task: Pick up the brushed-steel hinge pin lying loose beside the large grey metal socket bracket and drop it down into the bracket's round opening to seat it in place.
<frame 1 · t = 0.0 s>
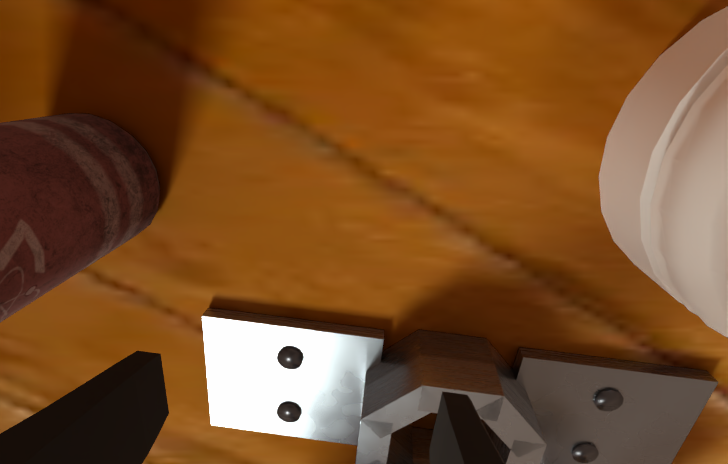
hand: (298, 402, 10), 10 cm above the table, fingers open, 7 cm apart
grey metal socket bracket: (438, 394, 23), on the table
can: (107, 173, 19), on the table
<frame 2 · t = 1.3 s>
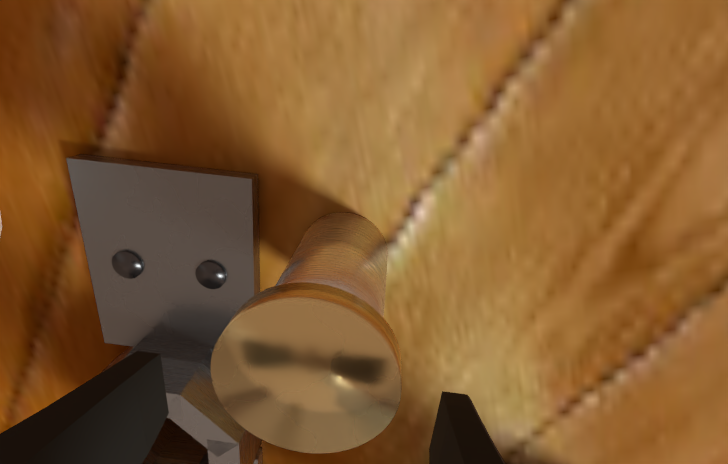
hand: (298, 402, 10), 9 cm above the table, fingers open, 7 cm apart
grey metal socket bracket: (192, 393, 22), on the table
hinge pin: (344, 253, 18), on the table
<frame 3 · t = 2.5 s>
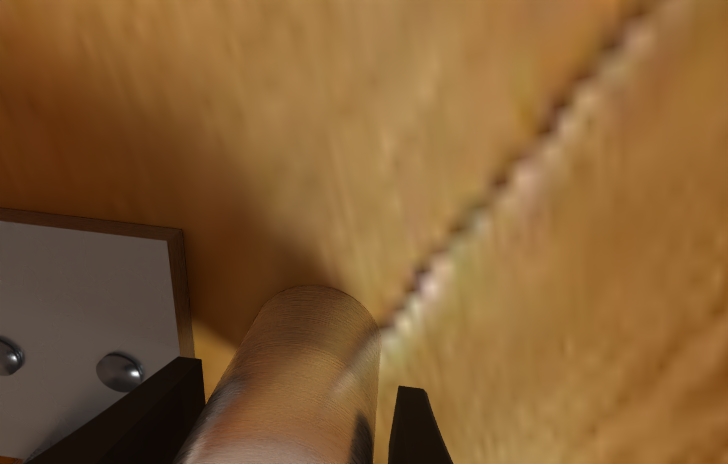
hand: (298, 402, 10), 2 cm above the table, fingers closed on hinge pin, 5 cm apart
hinge pin: (316, 341, 12), on the table, touching gripper
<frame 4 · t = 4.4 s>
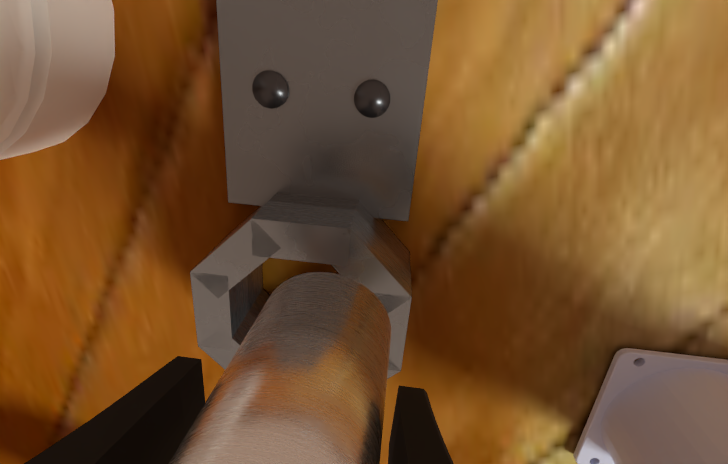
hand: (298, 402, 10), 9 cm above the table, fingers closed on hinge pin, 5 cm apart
grey metal socket bracket: (317, 274, 19), on the table
hinge pin: (326, 327, 12), point 7 cm above the table, touching gripper
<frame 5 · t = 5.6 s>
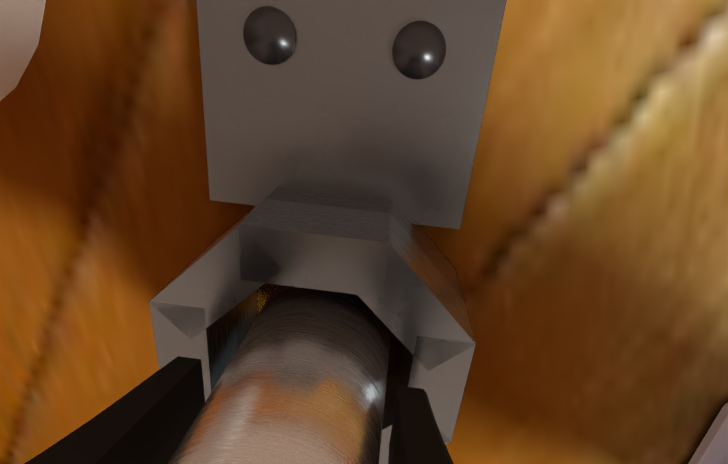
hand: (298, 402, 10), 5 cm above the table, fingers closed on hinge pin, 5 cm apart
grey metal socket bracket: (330, 297, 15), on the table
hinge pin: (326, 327, 12), point 2 cm above the table, touching gripper
when the fingers open (4 cm above the table, at t = 6.3 s): hinge pin drops 2 cm, resting in grey metal socket bracket.
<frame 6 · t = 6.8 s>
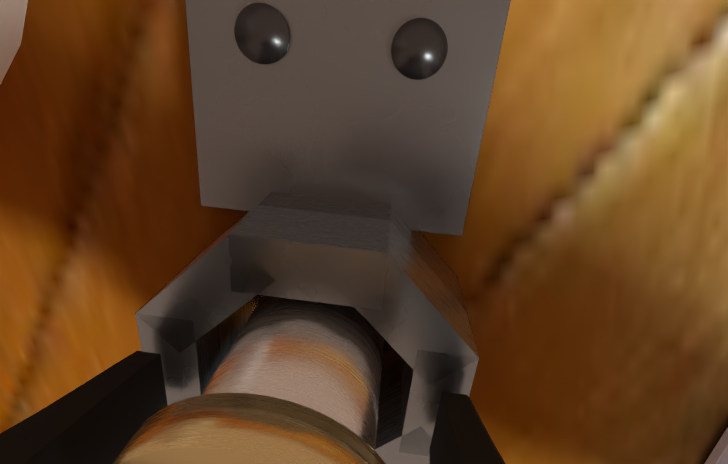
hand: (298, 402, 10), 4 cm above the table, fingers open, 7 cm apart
grey metal socket bracket: (327, 305, 14), on the table
hinge pin: (330, 295, 14), resting in grey metal socket bracket
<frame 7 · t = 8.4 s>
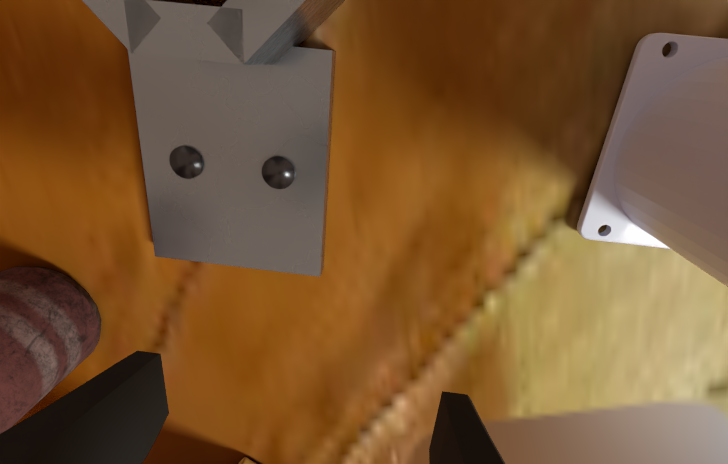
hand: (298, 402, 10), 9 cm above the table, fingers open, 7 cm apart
can: (53, 308, 22), on the table
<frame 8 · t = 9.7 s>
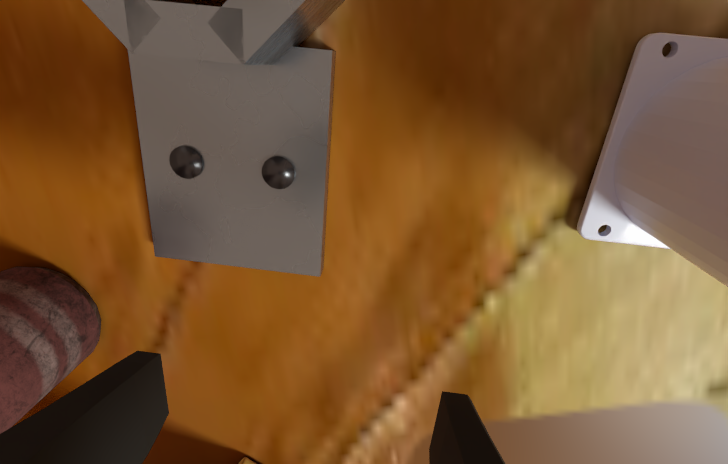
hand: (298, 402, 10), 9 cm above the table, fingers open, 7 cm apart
can: (53, 308, 22), on the table
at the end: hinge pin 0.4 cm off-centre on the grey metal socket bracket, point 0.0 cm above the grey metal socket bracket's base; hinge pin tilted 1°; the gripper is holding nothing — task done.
